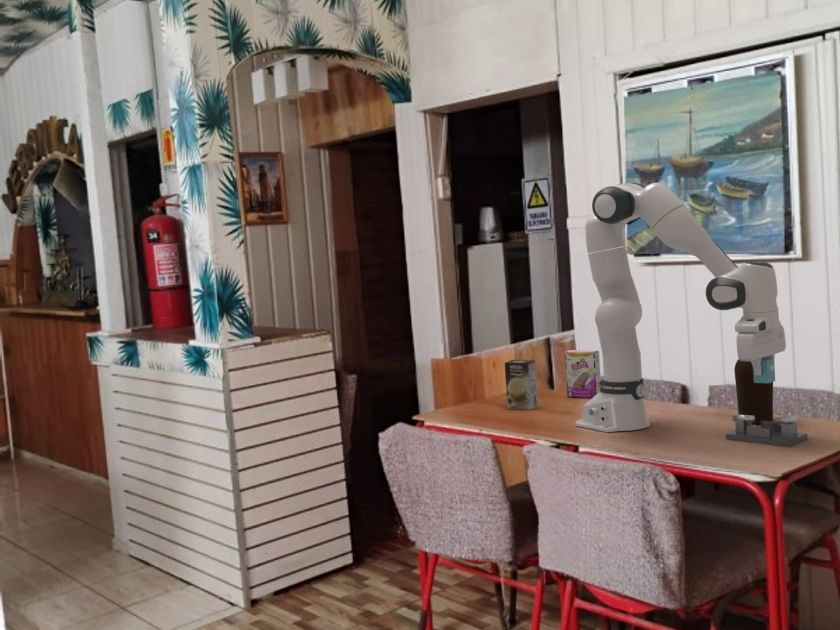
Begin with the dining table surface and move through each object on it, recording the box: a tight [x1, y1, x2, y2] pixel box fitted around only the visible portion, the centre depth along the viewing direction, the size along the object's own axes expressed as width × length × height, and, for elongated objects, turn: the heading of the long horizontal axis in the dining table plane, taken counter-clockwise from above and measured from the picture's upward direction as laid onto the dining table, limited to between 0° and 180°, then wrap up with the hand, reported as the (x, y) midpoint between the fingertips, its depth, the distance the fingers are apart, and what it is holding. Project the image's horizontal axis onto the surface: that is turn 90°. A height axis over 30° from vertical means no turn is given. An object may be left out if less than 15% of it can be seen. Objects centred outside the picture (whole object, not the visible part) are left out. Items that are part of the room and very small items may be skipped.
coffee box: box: [504, 359, 539, 411], centre depth 319 cm, size 9×6×16 cm
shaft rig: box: [725, 413, 808, 448], centre depth 252 cm, size 18×10×7 cm, turn 43°
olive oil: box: [733, 357, 774, 426], centre depth 272 cm, size 11×11×25 cm
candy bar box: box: [564, 349, 602, 399], centre depth 330 cm, size 11×5×16 cm, turn 59°
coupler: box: [753, 358, 776, 383], centre depth 251 cm, size 5×4×6 cm
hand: (763, 373), depth 251 cm, fingers closed on coupler, 4 cm apart
